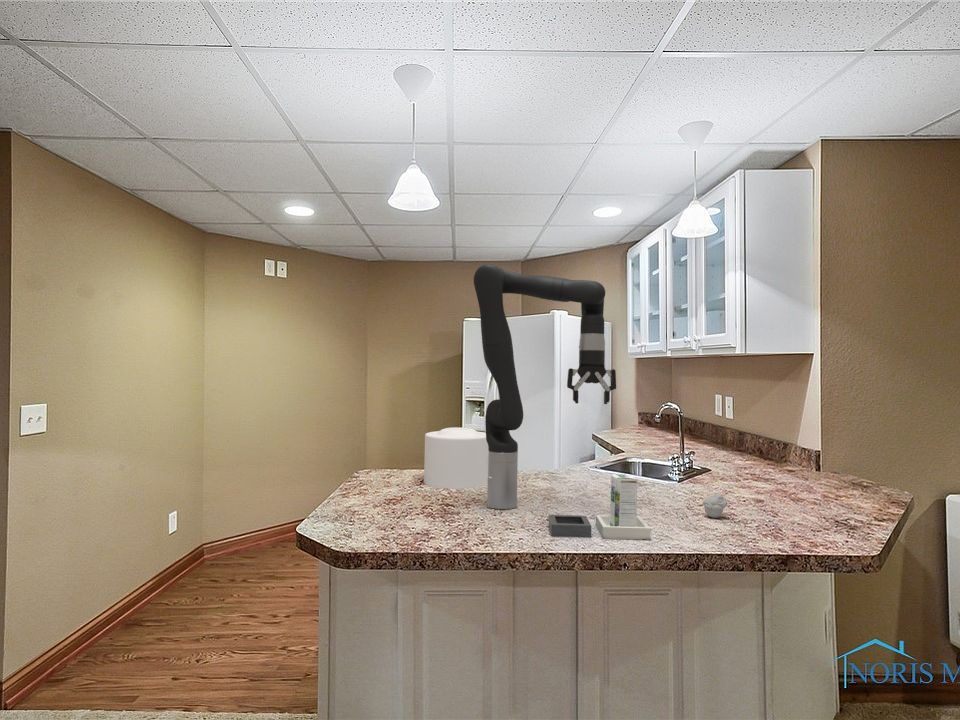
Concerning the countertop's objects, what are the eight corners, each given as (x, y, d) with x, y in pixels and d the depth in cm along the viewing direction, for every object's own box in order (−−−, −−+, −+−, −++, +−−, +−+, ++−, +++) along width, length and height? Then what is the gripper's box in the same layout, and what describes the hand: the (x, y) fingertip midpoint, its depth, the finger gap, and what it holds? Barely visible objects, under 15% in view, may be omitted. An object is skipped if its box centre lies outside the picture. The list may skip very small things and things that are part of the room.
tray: (603, 538, 148) (603, 527, 148) (595, 525, 160) (595, 515, 160) (650, 540, 148) (650, 528, 148) (639, 527, 160) (639, 516, 160)
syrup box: (609, 527, 157) (609, 473, 157) (630, 527, 157) (631, 473, 157) (614, 533, 151) (615, 477, 151) (637, 533, 151) (638, 478, 152)
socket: (551, 536, 150) (551, 524, 150) (548, 525, 160) (548, 514, 160) (591, 537, 149) (591, 525, 149) (585, 526, 160) (585, 515, 160)
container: (430, 474, 232) (431, 424, 232) (493, 477, 229) (494, 426, 230) (417, 487, 207) (418, 431, 207) (487, 490, 204) (488, 433, 205)
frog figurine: (728, 521, 168) (729, 497, 168) (702, 519, 170) (703, 495, 170) (726, 516, 174) (726, 492, 174) (701, 514, 176) (701, 491, 176)
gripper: (569, 348, 169) (568, 404, 169) (618, 349, 169) (617, 405, 169) (566, 349, 177) (565, 402, 177) (613, 350, 176) (612, 403, 176)
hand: (591, 403), depth 173 cm, fingers open, 8 cm apart
